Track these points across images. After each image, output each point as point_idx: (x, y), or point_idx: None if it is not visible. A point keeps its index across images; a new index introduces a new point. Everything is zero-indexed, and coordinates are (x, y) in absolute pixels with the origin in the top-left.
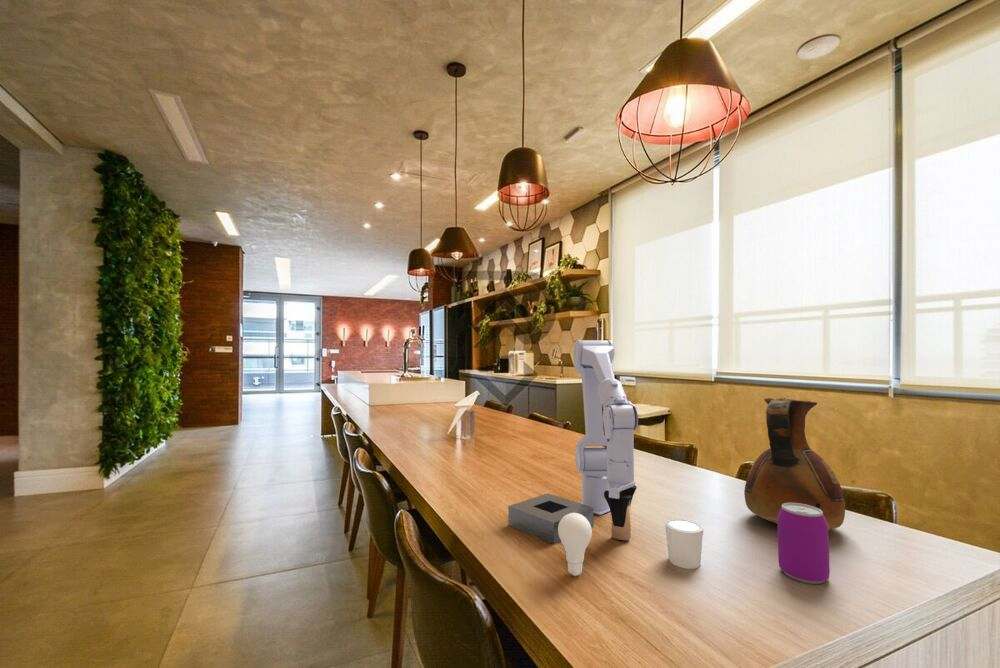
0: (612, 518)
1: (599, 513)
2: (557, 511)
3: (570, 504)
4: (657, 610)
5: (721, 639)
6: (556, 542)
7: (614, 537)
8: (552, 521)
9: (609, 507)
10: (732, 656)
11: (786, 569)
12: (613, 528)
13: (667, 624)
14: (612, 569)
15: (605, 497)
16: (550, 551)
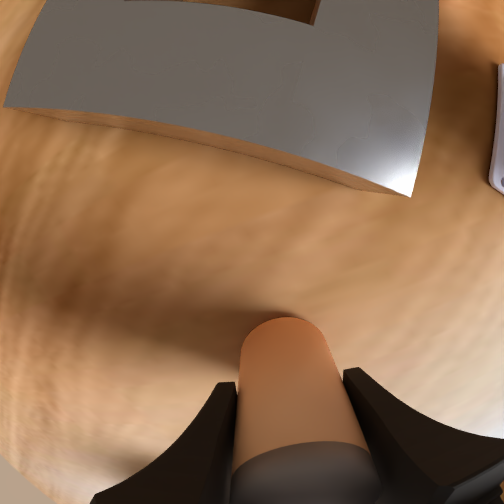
0: (203, 406)
1: (492, 180)
2: (170, 4)
3: (371, 25)
4: (16, 433)
5: (38, 479)
6: (73, 121)
7: (244, 340)
8: (14, 87)
9: (165, 451)
10: (26, 477)
11: None
12: (246, 359)
13: (7, 438)
14: (47, 365)
15: (94, 500)
16: (20, 146)
